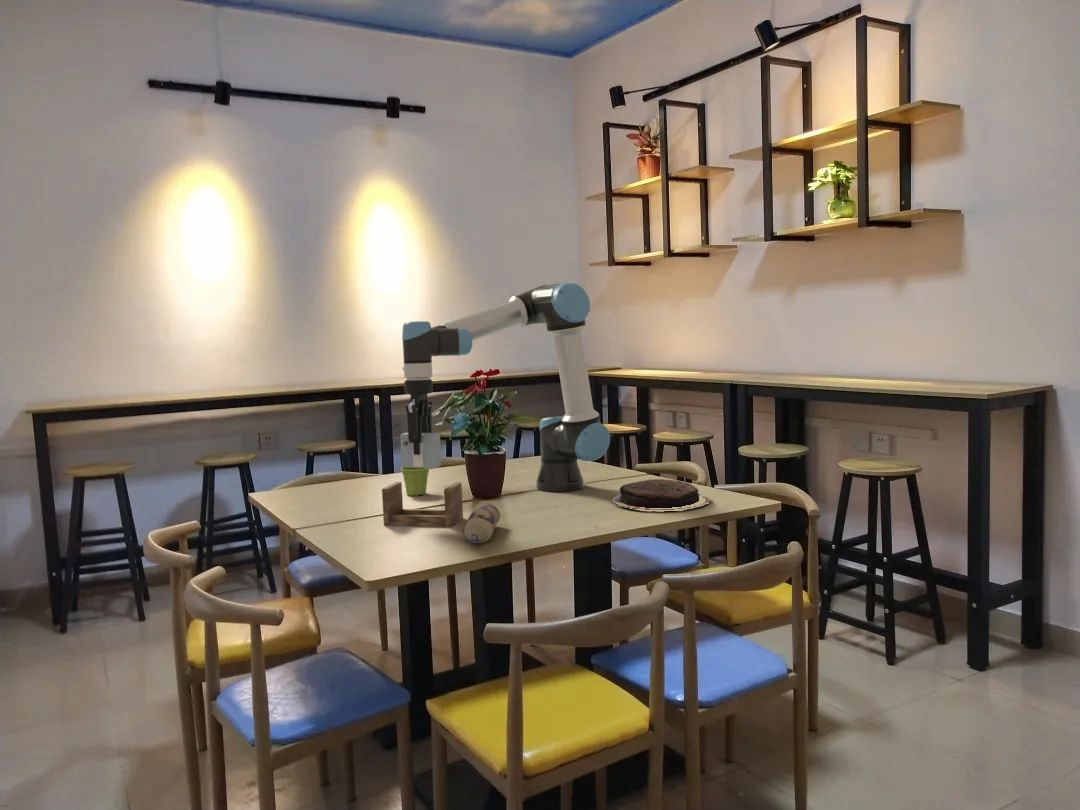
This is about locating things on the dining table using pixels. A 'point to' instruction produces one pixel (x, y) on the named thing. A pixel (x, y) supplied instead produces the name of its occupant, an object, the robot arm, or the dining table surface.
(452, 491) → the track
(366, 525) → the dining table surface
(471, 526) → the decorative bottle
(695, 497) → the chocolate cake
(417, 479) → the plant pot
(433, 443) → the door panel
